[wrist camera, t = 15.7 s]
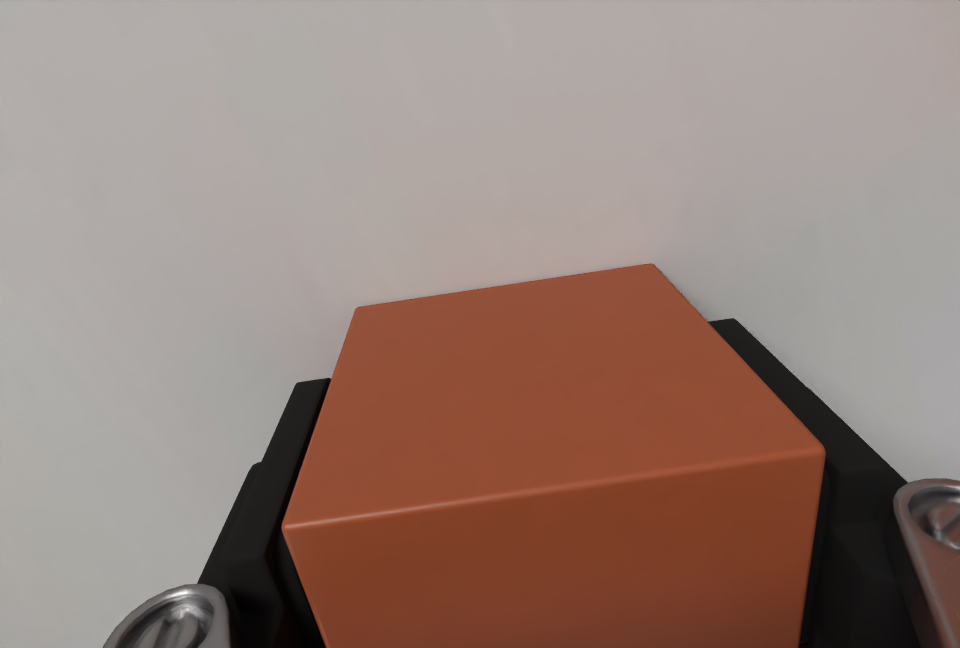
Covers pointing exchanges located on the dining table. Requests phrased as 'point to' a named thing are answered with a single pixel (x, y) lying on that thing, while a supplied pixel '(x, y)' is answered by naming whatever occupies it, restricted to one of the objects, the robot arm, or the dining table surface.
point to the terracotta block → (553, 477)
